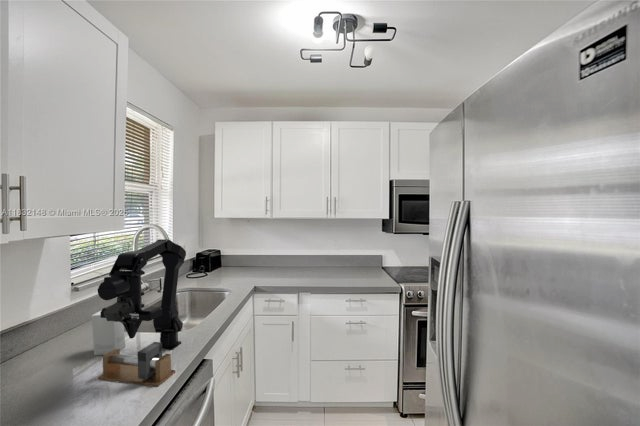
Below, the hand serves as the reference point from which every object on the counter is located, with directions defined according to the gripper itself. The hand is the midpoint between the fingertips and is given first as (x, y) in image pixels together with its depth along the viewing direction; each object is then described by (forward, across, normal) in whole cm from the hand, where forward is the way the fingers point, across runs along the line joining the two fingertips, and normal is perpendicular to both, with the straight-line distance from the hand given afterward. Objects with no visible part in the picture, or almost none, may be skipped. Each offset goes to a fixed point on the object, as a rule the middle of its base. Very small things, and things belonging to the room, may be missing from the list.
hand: (132, 337), depth 100 cm
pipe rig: (+12, +2, 0) cm, 13 cm away
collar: (+11, +7, 0) cm, 13 cm away
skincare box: (+13, -22, +13) cm, 28 cm away
